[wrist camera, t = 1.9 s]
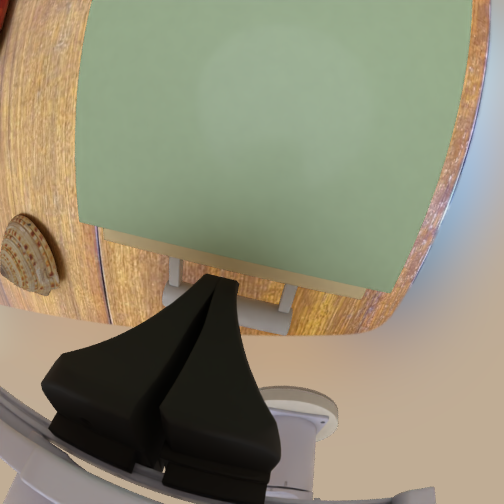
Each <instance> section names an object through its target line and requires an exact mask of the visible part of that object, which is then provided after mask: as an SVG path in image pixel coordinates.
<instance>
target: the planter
mask: <svg viewBox="0 0 504 504" xmlns="http://www.w3.org/2000/svg"><path fill="white" fill-rule="evenodd" d="M8 4H9V0H0V33H1V30H2V26H3V23H4V19H5V16H6V12H7V8H8Z"/></svg>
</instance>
